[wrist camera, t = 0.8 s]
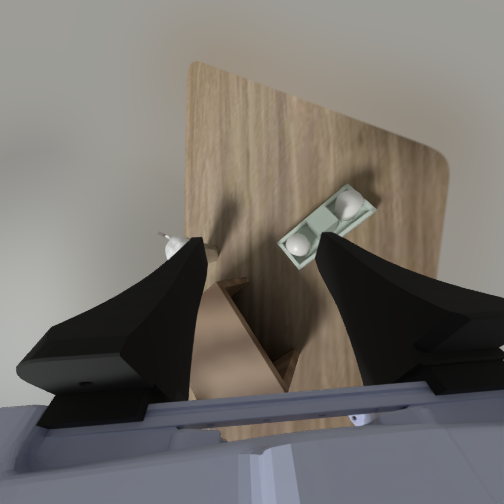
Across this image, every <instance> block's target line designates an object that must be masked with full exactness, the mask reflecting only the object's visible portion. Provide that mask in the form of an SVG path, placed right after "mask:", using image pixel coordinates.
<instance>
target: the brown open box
mask: <svg viewBox="0 0 504 504" xmlns="http://www.w3.org/2000/svg"><path fill="white" fill-rule="evenodd" d="M247 283H249V281H248V280H247V278H246V277H244V278H237V279H231V280H225V281H219V282H215V283H214V284H213V285H212V286H211V287H210V288H209V289H207V290H206V291H205V292H204V293H203V294H202V298H201V302H200V306H199V310H198V315H197V321H196V328H195V336H194V344H193V353H192V363H191V373H190V387H191V389H192V391H193V393H194V395H195V397H196V399H197V400H204V399H216V398H228V397H240V396H252V395H264V394H276V393H288V391H289V387H290V384H291V381H292V377H293V374H294V371H295V367H296V364H297V361H298V358H299V354H298V352H297V351H296V349H293V350H292V351H290V352H289V353H287V354H285V355H284V356H282V357H281V358H279V359H277V360H276V361H274V362H273V363H272V362H271V360H270V359H269V357H268V356H267V354H266V352H265V351H264V349H263V348H262V346H261V345H260V343H259V341H258V340H257V338H256V337H255V335H254V333H253V332H252V330H251V329H250V327H249V326H248V324H247V322H246V321H245V319H244V318H243V316H242V315H241V313H240V311H239V310H238V308H237V307H236V305H235V303H234V302H233V300H232V299H231V297H232V296H233V295H234V294H235V293H236V292H238V291H239V290H240V289H241V288H242V287H244V286H245V285H246V284H247ZM229 427H231V426H228V427H217V428H210V429H211V430H219V431H220V432H222V431H223V430H225V429H227V428H229Z"/></svg>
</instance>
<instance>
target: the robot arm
mask: <svg viewBox="0 0 504 504" xmlns="http://www.w3.org/2000/svg"><path fill="white" fill-rule="evenodd" d="M315 261H316V264H317V267H318V269H319V272H320V274H321V276H322V278H323V280H324V282H325V284H326V286H327V287H328V289H329V291H330V293H331V295H332V297H333V299H334V301H335V303H336V305H337V307H338V309H339V312H340V314H341V317H342V319H343V322H344V324H345V327H346V330H347V333H348V335H349V338H350V341H351V344H352V347H353V350H354V354H355V357H356V360H357V363H358V367H359V370H360V374H361V377H362V381H363V385H364V386H360V387H348V388H336V389H324V390H312V391H300V392H288V393H276V394H264V395H252V396H240V397H228V398H216V399H204V400H192V401H188V399H189V386H190V373H191V363H192V353H193V344H194V336H195V328H196V321H197V315H198V310H199V306H200V302H201V298H202V294H203V290H204V286H205V281H206V277H207V267H208V262H207V257H206V252H205V247H204V243H203V238H202V237H192V238H191V239H190V240H189V241H188V242H187V243H185V244H184V245H183V246H182V247H181V248H180V249H179V250H178V251H177V252H176V253H175V254H174V255H173V256H172V257H171V258H170V259H168V260H167V261H166V262H165V263H164V264H162V266H160V267H159V268H158V269H156V270H155V271H154V272H153V273H151V274H150V275H149V276H147V277H146V278H144V279H143V280H141V281H140V282H138V283H137V284H135V285H133V286H132V287H130V288H128V289H127V290H125V291H124V292H122V293H120V294H119V295H117V296H115V297H114V298H111V299H109V300H108V301H106V302H104V303H102V304H100V305H98V306H96V307H94V308H92V309H90V310H88V311H86V312H84V313H81V314H79V315H77V316H75V317H73V318H71V319H68V320H66V321H64V322H62V323H60V324H57V325H55V326H52V327H51V328H50V329H49V330H48V331H47V332H46V334H45V335H44V336H43V337H42V338H41V339H40V340H39V342H38V343H37V344H36V345H35V346H34V347H33V348H32V350H31V351H30V352H29V353H28V354H27V355H26V356H25V357H24V359H23V360H22V361H21V362H20V363H19V364H18V366H17V367H16V372H17V375H18V376H19V377H20V378H21V379H22V380H24V381H26V382H28V383H30V384H32V385H34V386H36V387H39V388H41V389H43V390H45V391H47V392H50V393H52V394H54V395H55V397H54V398H53V400H52V401H51V403H50V404H49V406H45V405H27V406H15V407H2V408H0V504H504V361H503V360H504V351H502V350H501V349H500V348H499V347H501V346H502V345H504V298H502V297H498V296H494V295H490V294H485V293H482V292H478V291H474V290H470V289H466V288H462V287H459V286H455V285H452V284H449V283H445V282H442V281H439V280H436V279H433V278H430V277H427V276H424V275H421V274H418V273H416V272H413V271H410V270H408V269H405V268H403V267H400V266H398V265H396V264H393V263H391V262H389V261H386V260H384V259H382V258H380V257H378V256H376V255H374V254H372V253H370V252H368V251H366V250H365V249H363V248H361V247H359V246H357V245H355V244H354V243H352V242H350V241H348V240H347V239H345V238H343V237H341V236H339V235H338V234H335V233H333V232H322V233H321V237H320V240H319V244H318V248H317V252H316V255H315ZM337 416H349V418H350V419H351V420H352V422H353V423H354V425H355V426H352V427H340V428H329V429H319V430H310V431H302V432H293V433H286V434H279V435H272V436H264V437H258V438H251V439H245V440H238V441H232V442H228V441H227V440H226V439H223V438H220V437H221V433H220V431H219V430H203V429H206V428H217V427H228V426H239V425H250V424H261V423H272V422H283V421H294V420H305V419H316V418H326V417H337ZM352 416H355V417H356V418H353V417H352Z"/></svg>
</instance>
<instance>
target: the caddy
mask: <svg viewBox="0 0 504 504" xmlns="http://www.w3.org/2000/svg"><path fill="white" fill-rule="evenodd" d="M376 211H377V209H376V208H374V207H373V206H372V205H371V204H370V203H369V202H368V201H367V200H366V199H364V198H363V197H362V195H361V194H360V193H359V192H357V191H356V190H355V189H353V188H352V187H351V186H350V185H349V184H348V183H347V184H346V185H344V186H343V187H342V188H341V189H340V190H339V191H337V192H336V193H335V194H334V195H333V196H332V197H330V198H329V199H328V200H327V201H326V202H325V203H323V204H322V205H321V206H320V207H319V208H317V209H316V210H315V211H314V212H313V213H312V214H310V215H309V216H308V217H307V218H306V219H305V220H303V221H302V222H301V223H300V224H299V225H298V226H296V227H295V228H294V229H293V230H292V231H290V232H289V233H288V234H287V235H286V236H285V237H283V238H282V239H281V240H280V241H279V242H278V245H279V246H280V247H281V248H282V250H283V251H284V252H285V253H286V255H287V256H288V257H289V258H290V260H291V261H292V262H293V263H294V264H295V266H296V267H297V268H298V269H299V270H301V269H302V268H303V267H305V266H306V265H307V264H309V263H310V262H311V261H313V260H314V259H315V255H316V252H317V248H318V244H319V240H320V237H321V233H322V232H333V233H335V234H338V235H339V236H341V237H344V236H345V235H347V234H348V233H349V232H351V231H352V230H353V229H354V228H356V227H357V226H358V225H360V224H361V223H362V222H364V221H365V220H366V219H367V218H369V217H370V216H371V215H373V214H374V213H375V212H376Z"/></svg>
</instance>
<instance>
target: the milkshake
mask: <svg viewBox="0 0 504 504" xmlns="http://www.w3.org/2000/svg"><path fill="white" fill-rule="evenodd" d="M158 234H159V235H161V236H164V237H165V238H168V239H170V240H169V242H168V243H167V245H166V250H165V252H166V257H167V259H170V258H171V257H172V256H173V255H174V254H175V253H176V252H177V251H178V250H179V249H180V248H181V247H182V246H183V245H184V244H185V243H187V242H188V241H189V240H190V239H191V238H188V237H185V236H181V235H176V236H174V237H173V238H172V237H170V236H168V235H165V234H164V233H161V232H158ZM204 247H205V252H206V257H207V262H208V263H211V262H214V261H216V259H217V258H218V249H217V248H216V246H213V245H210V244H206V243H204Z"/></svg>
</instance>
